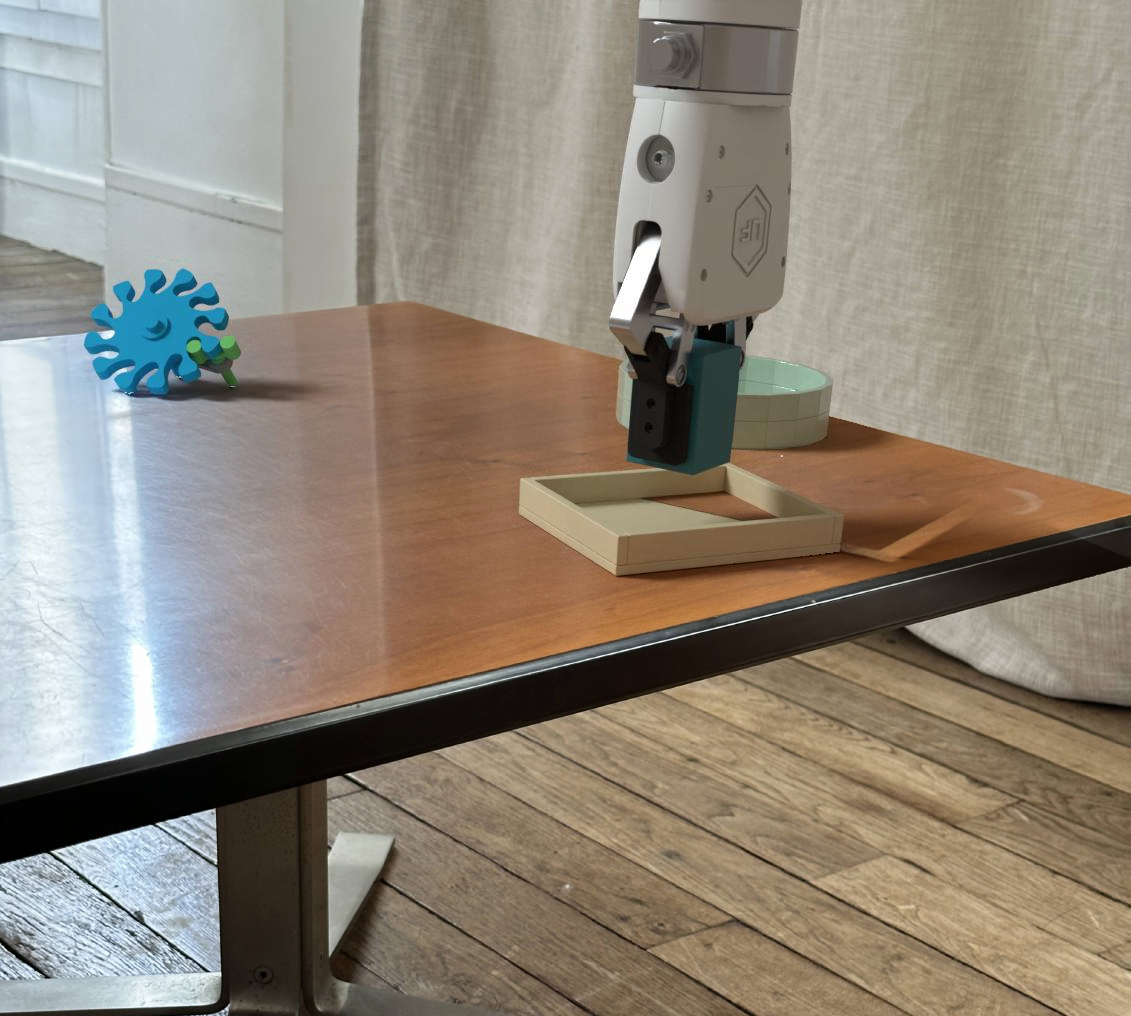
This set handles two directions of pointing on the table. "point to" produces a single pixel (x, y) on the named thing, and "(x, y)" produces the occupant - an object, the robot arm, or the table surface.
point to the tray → (675, 519)
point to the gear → (162, 334)
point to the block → (708, 406)
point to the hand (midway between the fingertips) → (680, 448)
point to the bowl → (766, 404)
